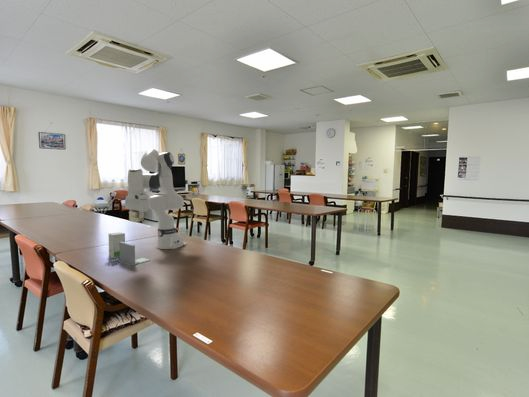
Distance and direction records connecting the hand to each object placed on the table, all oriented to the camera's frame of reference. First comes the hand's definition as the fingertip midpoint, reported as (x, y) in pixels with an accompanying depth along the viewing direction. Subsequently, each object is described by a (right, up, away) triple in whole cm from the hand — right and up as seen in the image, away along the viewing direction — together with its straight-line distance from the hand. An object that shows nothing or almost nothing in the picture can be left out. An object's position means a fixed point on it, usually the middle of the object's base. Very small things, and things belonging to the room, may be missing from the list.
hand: (136, 217), depth 178 cm
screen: (-6, -28, +1) cm, 29 cm away
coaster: (+1, -28, +4) cm, 28 cm away
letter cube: (0, -2, 0) cm, 2 cm away
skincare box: (-18, -27, +12) cm, 35 cm away
